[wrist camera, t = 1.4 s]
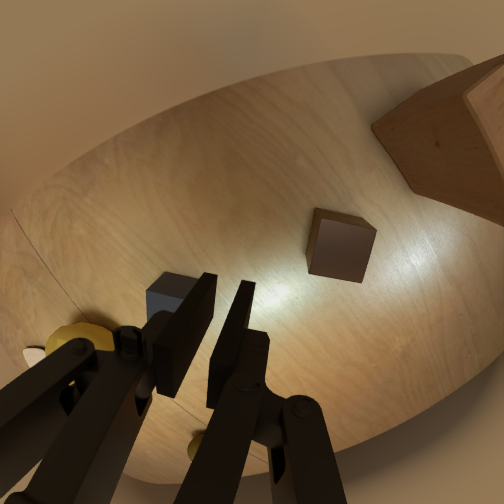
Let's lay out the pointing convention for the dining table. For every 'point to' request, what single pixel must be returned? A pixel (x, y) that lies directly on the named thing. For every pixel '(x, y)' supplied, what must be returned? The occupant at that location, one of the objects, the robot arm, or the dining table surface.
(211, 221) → the dining table surface
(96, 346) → the vase
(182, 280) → the slate block
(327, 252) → the walnut block
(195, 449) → the apple
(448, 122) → the wooden block
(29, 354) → the plate
